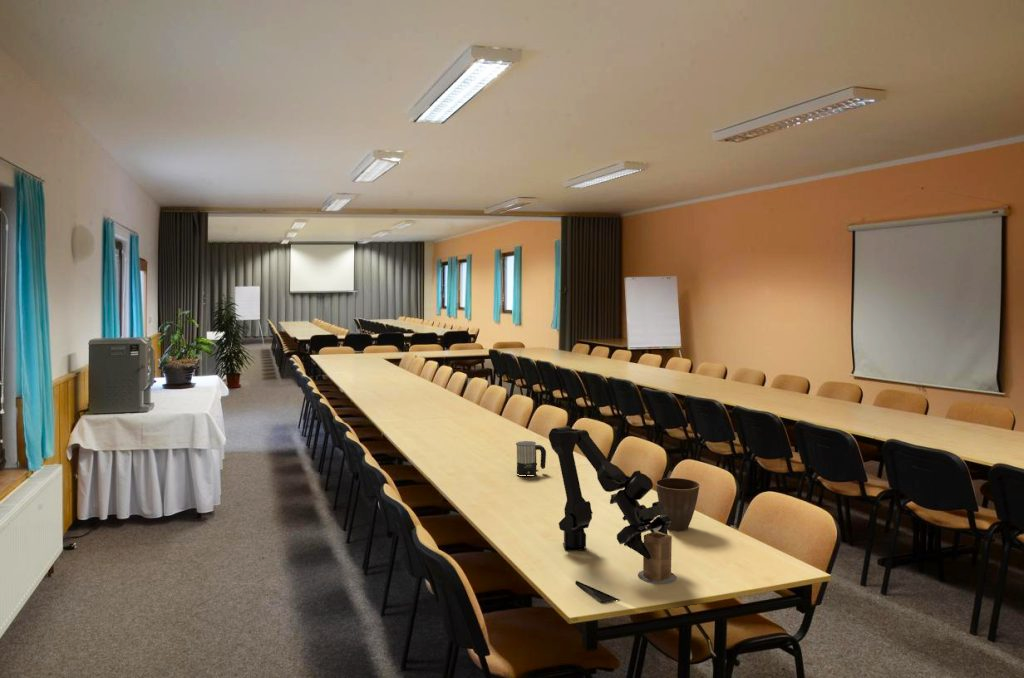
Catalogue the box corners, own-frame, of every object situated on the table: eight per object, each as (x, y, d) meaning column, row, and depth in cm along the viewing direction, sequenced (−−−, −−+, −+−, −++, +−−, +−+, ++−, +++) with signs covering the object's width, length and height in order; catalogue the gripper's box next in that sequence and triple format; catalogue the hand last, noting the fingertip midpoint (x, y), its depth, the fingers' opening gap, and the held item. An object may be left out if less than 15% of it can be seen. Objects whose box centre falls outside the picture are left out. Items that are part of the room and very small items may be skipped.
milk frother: (522, 478, 319) (522, 445, 318) (505, 471, 333) (505, 439, 332) (549, 474, 326) (549, 442, 325) (531, 467, 340) (531, 436, 339)
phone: (597, 576, 207) (626, 596, 193) (597, 579, 207) (626, 600, 193) (573, 580, 203) (601, 601, 190) (573, 584, 203) (601, 605, 190)
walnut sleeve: (643, 575, 206) (643, 535, 205) (655, 571, 210) (656, 530, 209) (658, 581, 202) (659, 540, 201) (671, 576, 205) (671, 535, 205)
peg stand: (629, 578, 207) (629, 565, 206) (654, 569, 214) (654, 556, 213) (660, 590, 198) (660, 576, 198) (684, 580, 205) (684, 567, 205)
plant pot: (697, 537, 242) (698, 490, 241) (653, 532, 246) (653, 487, 245) (699, 523, 256) (700, 479, 255) (657, 519, 261) (658, 476, 260)
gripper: (624, 499, 202) (655, 548, 194) (666, 487, 214) (696, 533, 206) (603, 520, 208) (632, 568, 200) (645, 507, 220) (674, 552, 212)
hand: (660, 555), depth 205 cm, fingers open, 9 cm apart
